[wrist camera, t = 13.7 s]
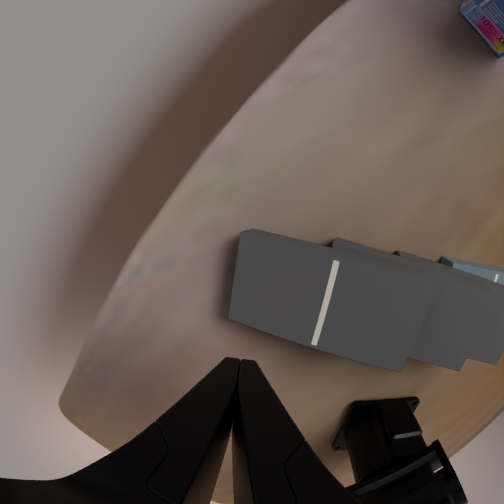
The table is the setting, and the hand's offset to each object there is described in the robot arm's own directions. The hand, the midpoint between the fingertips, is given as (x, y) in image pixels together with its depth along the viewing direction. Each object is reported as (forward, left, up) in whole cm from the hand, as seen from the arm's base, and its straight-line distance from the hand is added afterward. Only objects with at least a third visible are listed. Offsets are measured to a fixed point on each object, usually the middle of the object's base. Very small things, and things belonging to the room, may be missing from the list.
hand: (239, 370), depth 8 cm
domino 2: (0, -4, -9) cm, 9 cm away
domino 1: (0, +1, -9) cm, 9 cm away
